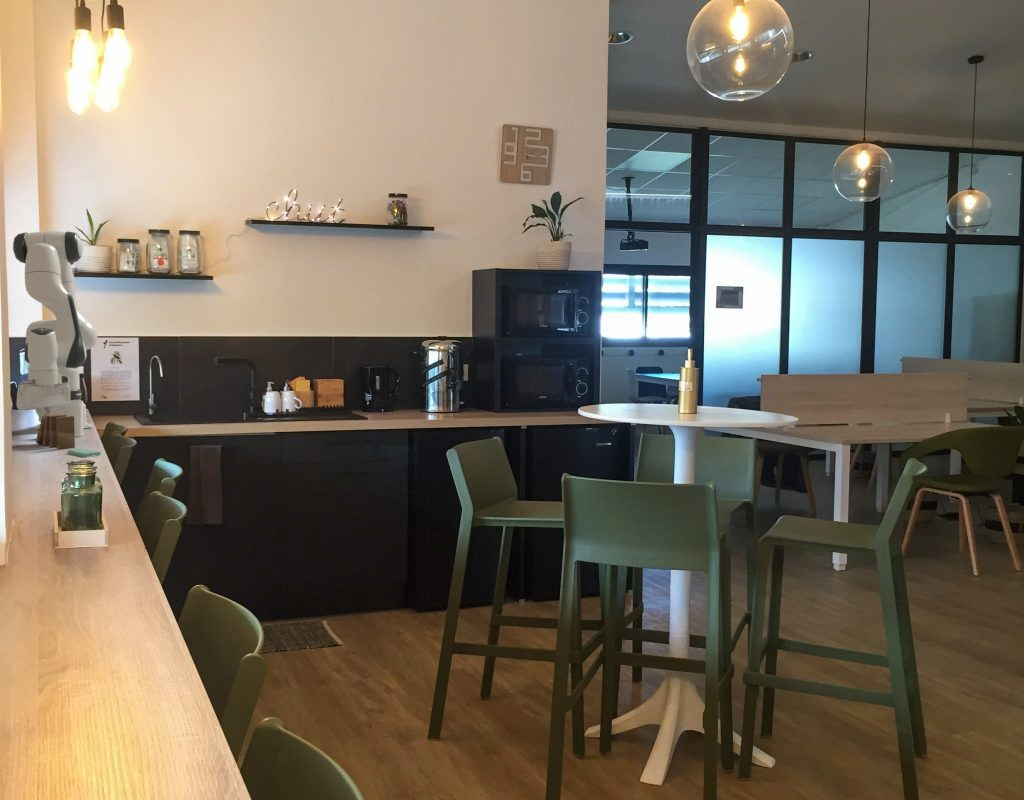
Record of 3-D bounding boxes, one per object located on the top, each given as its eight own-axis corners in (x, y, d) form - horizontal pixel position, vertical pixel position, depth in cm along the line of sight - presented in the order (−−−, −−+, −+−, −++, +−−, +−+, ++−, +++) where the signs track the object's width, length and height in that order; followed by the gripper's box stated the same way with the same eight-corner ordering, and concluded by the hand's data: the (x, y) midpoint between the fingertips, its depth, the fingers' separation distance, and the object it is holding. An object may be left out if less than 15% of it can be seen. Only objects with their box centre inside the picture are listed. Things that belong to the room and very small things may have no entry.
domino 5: (67, 450, 312) (84, 453, 305) (83, 448, 315) (100, 451, 309) (67, 455, 312) (85, 458, 306) (83, 453, 316) (100, 457, 309)
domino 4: (57, 448, 321) (56, 417, 320) (72, 447, 324) (71, 415, 323) (59, 449, 320) (58, 417, 319) (74, 447, 323) (74, 416, 322)
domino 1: (35, 441, 329) (42, 416, 325) (50, 440, 333) (57, 414, 329) (37, 444, 328) (44, 418, 324) (52, 443, 332) (59, 417, 328)
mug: (84, 434, 353) (83, 400, 352) (83, 437, 347) (83, 402, 345) (52, 435, 349) (51, 400, 348) (51, 438, 343) (50, 402, 342)
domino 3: (49, 447, 323) (48, 415, 322) (64, 445, 327) (64, 414, 326) (52, 447, 322) (51, 416, 321) (67, 446, 326) (66, 415, 325)
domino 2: (42, 444, 326) (45, 414, 324) (57, 443, 330) (60, 413, 328) (44, 446, 325) (47, 416, 323) (60, 444, 329) (62, 415, 327)
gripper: (27, 381, 317) (28, 425, 318) (73, 377, 336) (74, 418, 338) (10, 380, 319) (12, 424, 320) (57, 376, 338) (58, 417, 339)
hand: (44, 421), depth 329 cm, fingers closed
